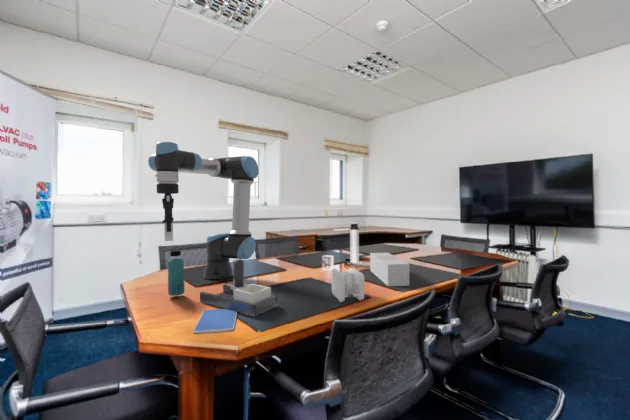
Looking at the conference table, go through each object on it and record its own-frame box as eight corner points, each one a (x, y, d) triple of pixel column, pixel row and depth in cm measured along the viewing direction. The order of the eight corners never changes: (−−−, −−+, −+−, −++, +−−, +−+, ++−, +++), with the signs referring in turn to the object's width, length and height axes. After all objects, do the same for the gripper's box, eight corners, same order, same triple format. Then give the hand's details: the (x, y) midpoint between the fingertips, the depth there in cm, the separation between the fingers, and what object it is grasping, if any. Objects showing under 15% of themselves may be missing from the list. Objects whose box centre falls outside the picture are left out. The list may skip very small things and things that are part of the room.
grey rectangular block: (370, 271, 178) (370, 252, 178) (387, 270, 179) (388, 252, 179) (387, 286, 146) (388, 264, 146) (409, 286, 147) (409, 264, 147)
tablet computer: (203, 312, 113) (203, 309, 113) (238, 310, 115) (238, 307, 115) (192, 335, 94) (192, 331, 94) (234, 332, 96) (234, 328, 96)
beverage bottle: (178, 299, 126) (177, 252, 125) (164, 298, 127) (163, 251, 127) (187, 295, 132) (187, 249, 132) (174, 294, 134) (173, 249, 133)
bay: (225, 293, 135) (225, 284, 134) (277, 306, 118) (277, 296, 118) (200, 301, 124) (200, 292, 124) (253, 317, 107) (253, 306, 107)
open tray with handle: (244, 296, 126) (244, 258, 125) (271, 302, 118) (270, 261, 118) (225, 303, 118) (225, 262, 117) (252, 310, 110) (252, 266, 109)
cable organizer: (330, 293, 135) (330, 267, 135) (353, 291, 138) (353, 266, 137) (340, 304, 121) (340, 275, 120) (365, 302, 123) (365, 274, 123)
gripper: (157, 184, 125) (158, 235, 126) (155, 181, 103) (156, 243, 104) (177, 184, 129) (178, 234, 130) (179, 181, 106) (180, 242, 107)
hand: (168, 238), depth 117 cm, fingers open, 13 cm apart
